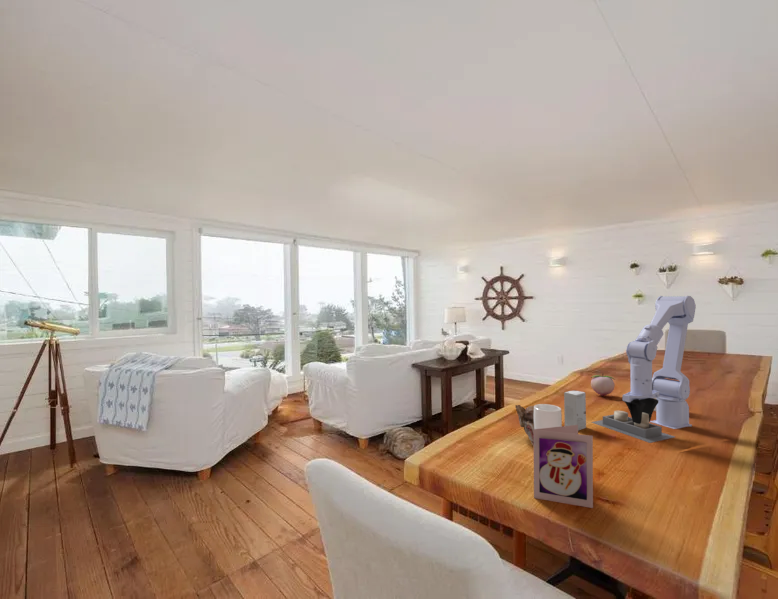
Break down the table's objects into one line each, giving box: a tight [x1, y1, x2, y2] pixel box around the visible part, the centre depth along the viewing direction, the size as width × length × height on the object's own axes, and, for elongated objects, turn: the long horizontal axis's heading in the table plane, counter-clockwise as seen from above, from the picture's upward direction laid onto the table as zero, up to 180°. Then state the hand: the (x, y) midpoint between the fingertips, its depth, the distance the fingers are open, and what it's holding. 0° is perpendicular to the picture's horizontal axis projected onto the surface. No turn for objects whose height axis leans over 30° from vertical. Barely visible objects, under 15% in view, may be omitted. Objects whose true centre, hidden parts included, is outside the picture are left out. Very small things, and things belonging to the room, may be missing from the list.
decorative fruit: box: [590, 373, 616, 397], centre depth 165 cm, size 9×8×10 cm
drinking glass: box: [533, 403, 563, 429], centre depth 98 cm, size 7×7×15 cm
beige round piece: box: [613, 410, 629, 422], centre depth 125 cm, size 4×4×4 cm
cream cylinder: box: [634, 412, 650, 429], centre depth 119 cm, size 4×4×4 cm
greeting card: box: [533, 425, 594, 509], centre depth 82 cm, size 11×7×15 cm, turn 69°
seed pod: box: [515, 404, 535, 447], centre depth 113 cm, size 13×16×15 cm
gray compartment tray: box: [590, 414, 676, 444], centre depth 122 cm, size 12×20×3 cm, turn 22°
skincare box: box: [563, 390, 587, 431], centre depth 124 cm, size 6×4×12 cm
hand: (641, 421), depth 119 cm, fingers closed on cream cylinder, 4 cm apart
